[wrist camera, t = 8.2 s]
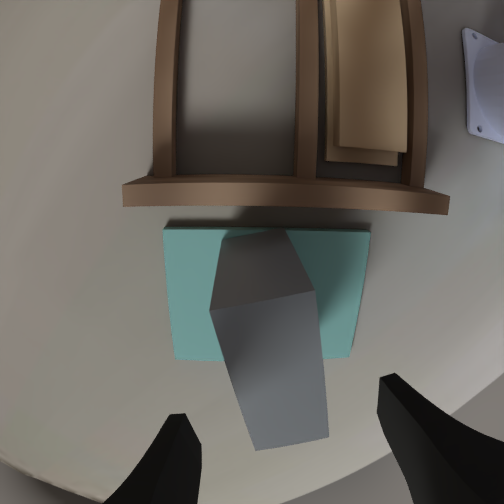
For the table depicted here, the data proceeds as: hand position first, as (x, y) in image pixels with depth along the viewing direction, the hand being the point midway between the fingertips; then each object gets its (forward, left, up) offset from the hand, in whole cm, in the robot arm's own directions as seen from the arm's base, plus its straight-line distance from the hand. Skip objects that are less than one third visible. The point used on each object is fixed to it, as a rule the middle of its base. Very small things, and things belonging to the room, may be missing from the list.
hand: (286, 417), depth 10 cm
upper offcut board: (-5, -14, -9) cm, 18 cm away
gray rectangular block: (0, 0, -9) cm, 9 cm away
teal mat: (0, 0, -10) cm, 10 cm away
